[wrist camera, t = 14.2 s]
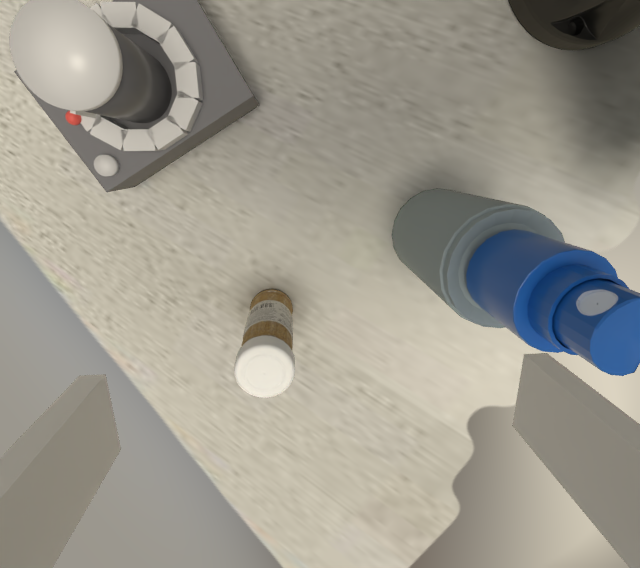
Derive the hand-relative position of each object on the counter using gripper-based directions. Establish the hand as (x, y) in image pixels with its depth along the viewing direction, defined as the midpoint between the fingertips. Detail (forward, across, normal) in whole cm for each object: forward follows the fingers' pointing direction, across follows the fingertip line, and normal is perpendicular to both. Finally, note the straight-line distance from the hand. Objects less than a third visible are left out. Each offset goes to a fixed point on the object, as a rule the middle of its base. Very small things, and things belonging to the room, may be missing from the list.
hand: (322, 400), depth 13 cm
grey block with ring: (+29, -12, +13) cm, 34 cm away
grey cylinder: (+23, -12, +12) cm, 29 cm away
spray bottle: (+29, +14, 0) cm, 32 cm away
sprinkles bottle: (+29, -3, -8) cm, 30 cm away
